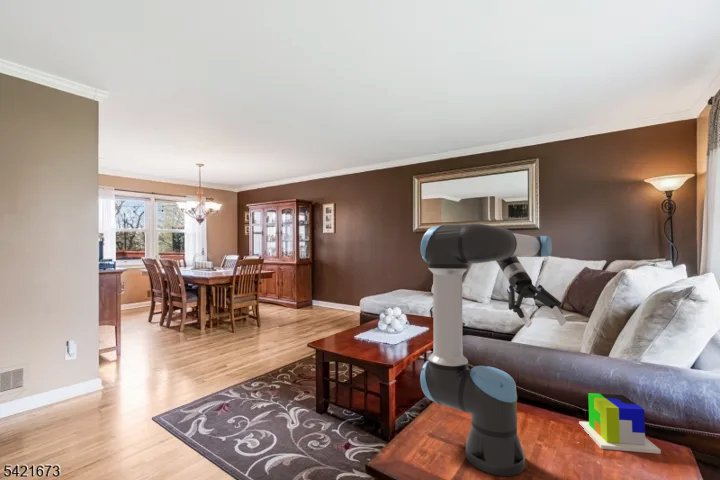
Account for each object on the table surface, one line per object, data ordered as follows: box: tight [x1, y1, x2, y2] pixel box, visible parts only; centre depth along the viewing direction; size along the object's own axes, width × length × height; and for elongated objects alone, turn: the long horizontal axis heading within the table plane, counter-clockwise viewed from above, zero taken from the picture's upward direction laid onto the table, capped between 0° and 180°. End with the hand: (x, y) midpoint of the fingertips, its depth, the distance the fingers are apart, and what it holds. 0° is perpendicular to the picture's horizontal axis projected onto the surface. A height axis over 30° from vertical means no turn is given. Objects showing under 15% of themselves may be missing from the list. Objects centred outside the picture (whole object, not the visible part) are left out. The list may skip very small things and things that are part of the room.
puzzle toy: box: [587, 392, 646, 445], centre depth 104 cm, size 10×10×10 cm
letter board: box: [578, 420, 662, 455], centre depth 104 cm, size 15×14×1 cm
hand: (546, 324), depth 118 cm, fingers open, 13 cm apart
